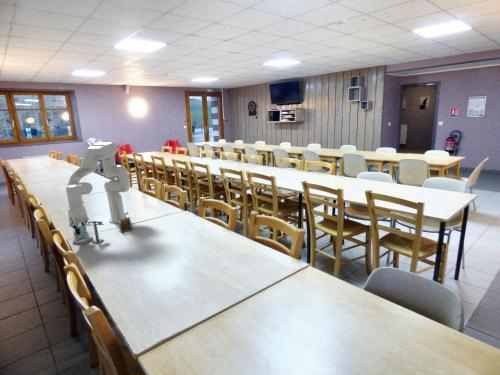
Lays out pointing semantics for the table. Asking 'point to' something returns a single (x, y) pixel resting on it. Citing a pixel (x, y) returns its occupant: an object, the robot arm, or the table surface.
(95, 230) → the balance stand
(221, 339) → the table surface
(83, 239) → the dish
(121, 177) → the robot arm
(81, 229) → the block
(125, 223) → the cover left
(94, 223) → the balance beam
